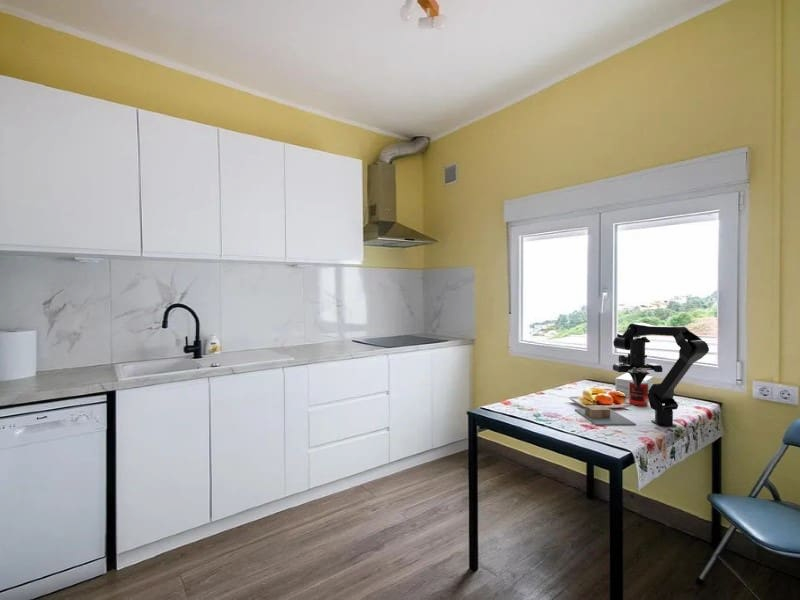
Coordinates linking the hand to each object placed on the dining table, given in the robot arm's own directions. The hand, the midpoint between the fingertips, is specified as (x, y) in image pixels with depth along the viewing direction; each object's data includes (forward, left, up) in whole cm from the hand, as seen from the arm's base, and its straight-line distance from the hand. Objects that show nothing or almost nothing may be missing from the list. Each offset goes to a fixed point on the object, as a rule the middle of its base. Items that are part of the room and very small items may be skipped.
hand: (637, 387), depth 177 cm
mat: (-3, +16, -12) cm, 20 cm away
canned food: (+16, -10, -12) cm, 22 cm away
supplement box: (+32, -18, -12) cm, 39 cm away
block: (-3, +15, -10) cm, 18 cm away
